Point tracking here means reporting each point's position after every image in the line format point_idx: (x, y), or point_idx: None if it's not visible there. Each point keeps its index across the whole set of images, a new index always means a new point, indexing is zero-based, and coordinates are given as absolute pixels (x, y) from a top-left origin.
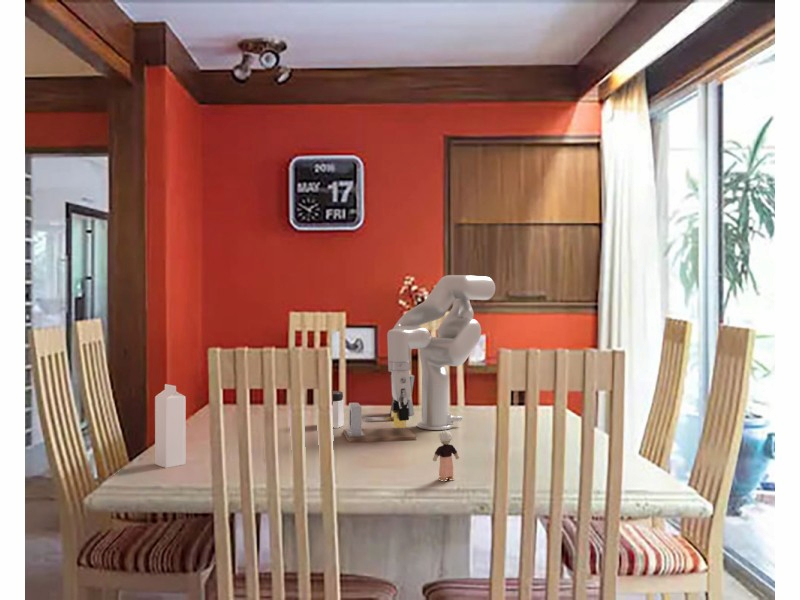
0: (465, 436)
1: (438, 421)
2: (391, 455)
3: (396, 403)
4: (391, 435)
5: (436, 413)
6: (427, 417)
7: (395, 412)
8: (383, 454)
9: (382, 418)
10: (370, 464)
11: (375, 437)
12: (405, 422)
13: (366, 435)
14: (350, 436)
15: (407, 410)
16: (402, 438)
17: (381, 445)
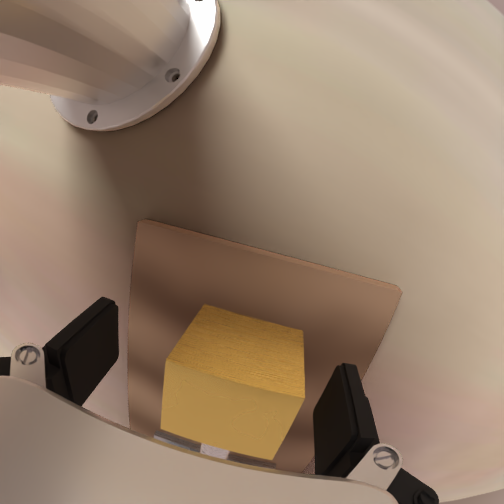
0: (409, 9)
1: (176, 19)
2: (494, 429)
3: (74, 395)
4: (306, 389)
5: (146, 6)
6: (115, 72)
7: (248, 445)
8: (473, 444)
9: (225, 457)
10: (498, 464)
11: (309, 445)
12: (303, 351)
13: None
14: None
15: (365, 427)
16: (370, 357)
17: (391, 437)
